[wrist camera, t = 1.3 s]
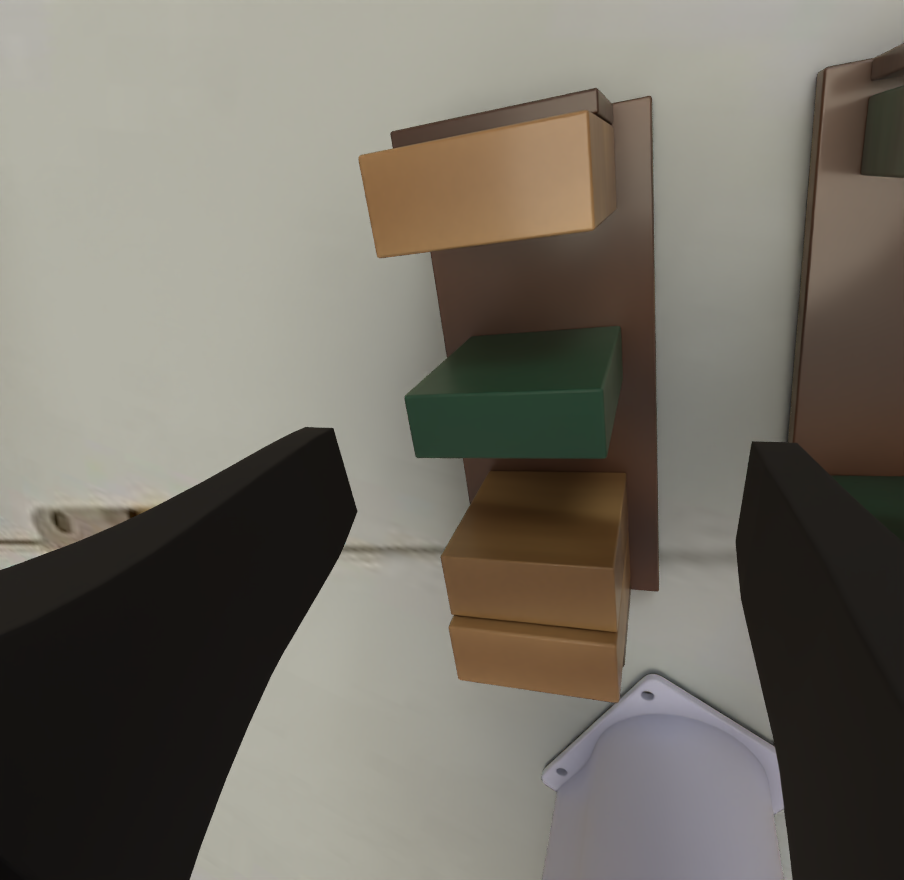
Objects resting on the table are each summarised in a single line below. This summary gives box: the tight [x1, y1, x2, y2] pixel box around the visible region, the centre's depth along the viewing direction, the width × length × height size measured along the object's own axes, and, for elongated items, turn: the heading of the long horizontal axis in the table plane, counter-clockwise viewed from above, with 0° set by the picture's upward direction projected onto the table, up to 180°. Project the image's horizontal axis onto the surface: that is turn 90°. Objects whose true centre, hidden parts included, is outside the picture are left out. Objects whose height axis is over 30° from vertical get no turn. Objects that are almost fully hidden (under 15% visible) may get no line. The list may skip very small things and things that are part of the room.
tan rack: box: [359, 88, 659, 703], centre depth 18 cm, size 16×7×7 cm, turn 8°
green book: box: [405, 326, 623, 459], centre depth 17 cm, size 2×5×6 cm, turn 98°
